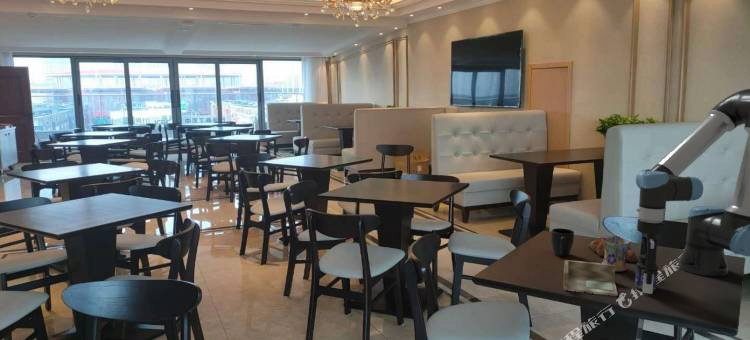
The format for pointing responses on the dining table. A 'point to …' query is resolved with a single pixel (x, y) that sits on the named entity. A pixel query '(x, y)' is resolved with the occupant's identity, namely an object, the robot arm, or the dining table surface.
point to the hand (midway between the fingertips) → (645, 287)
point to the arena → (589, 277)
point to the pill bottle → (640, 274)
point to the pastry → (599, 249)
